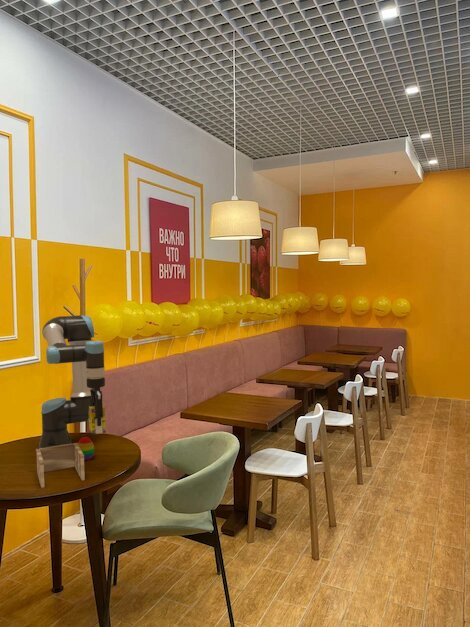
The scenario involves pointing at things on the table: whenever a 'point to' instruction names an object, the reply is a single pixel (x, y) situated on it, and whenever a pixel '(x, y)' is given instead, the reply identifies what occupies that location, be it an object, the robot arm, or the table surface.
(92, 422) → the supplement box
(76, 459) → the brown wooden frame
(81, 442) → the decorative egg
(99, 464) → the table surface
